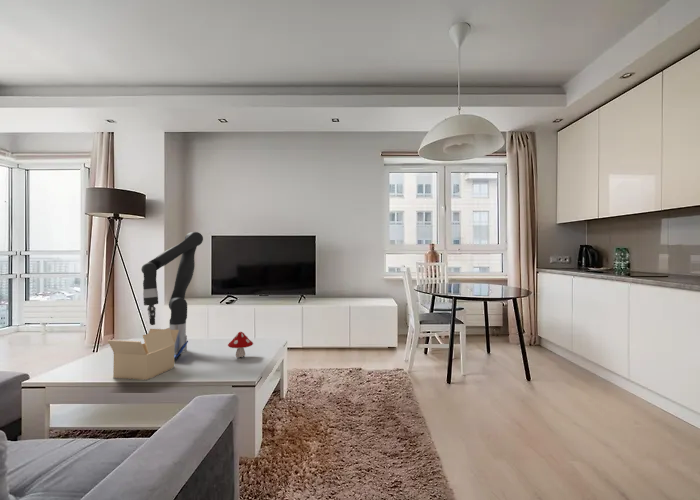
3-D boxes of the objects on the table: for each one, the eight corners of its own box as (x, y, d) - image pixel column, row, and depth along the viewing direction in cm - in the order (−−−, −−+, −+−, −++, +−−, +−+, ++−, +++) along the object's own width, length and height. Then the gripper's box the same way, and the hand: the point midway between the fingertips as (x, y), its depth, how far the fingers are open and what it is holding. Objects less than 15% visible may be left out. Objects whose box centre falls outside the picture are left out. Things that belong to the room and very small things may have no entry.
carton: (148, 363, 198) (149, 328, 198) (179, 365, 195) (179, 329, 195) (105, 380, 170) (105, 340, 170) (140, 383, 167) (140, 341, 167)
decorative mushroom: (222, 360, 205) (222, 333, 205) (235, 353, 218) (235, 328, 219) (244, 361, 202) (245, 334, 202) (256, 355, 215) (257, 329, 215)
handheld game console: (164, 356, 212) (164, 341, 213) (188, 355, 215) (188, 340, 215) (155, 364, 197) (155, 347, 197) (182, 363, 200) (182, 346, 200)
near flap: (168, 328, 191) (169, 327, 191) (173, 344, 190) (174, 344, 190) (142, 335, 172) (143, 335, 172) (148, 353, 172) (148, 353, 172)
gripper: (159, 296, 209) (160, 324, 208) (156, 295, 221) (158, 322, 220) (144, 297, 205) (145, 326, 204) (142, 297, 217) (144, 324, 216)
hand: (152, 324), depth 212 cm, fingers open, 8 cm apart
